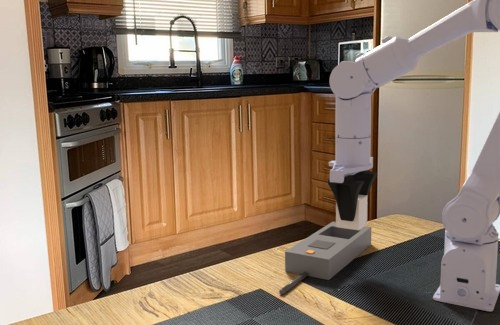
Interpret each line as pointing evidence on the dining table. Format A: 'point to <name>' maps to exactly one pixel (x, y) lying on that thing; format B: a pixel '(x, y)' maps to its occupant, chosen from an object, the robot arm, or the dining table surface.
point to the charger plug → (360, 215)
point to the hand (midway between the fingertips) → (352, 216)
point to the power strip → (325, 252)
